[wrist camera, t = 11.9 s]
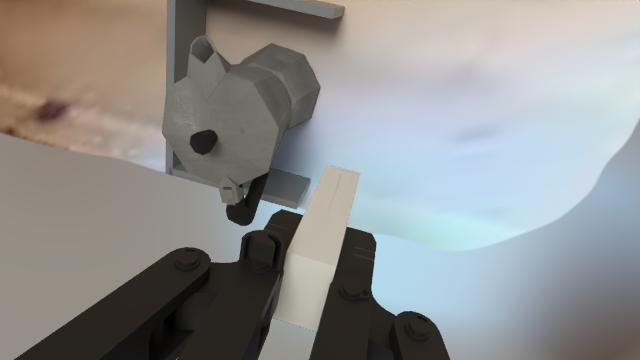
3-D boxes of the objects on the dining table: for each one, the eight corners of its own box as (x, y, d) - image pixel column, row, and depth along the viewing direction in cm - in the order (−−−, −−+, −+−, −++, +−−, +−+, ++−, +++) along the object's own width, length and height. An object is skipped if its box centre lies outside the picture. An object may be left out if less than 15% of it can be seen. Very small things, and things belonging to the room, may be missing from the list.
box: (192, 153, 48) (165, 173, 43) (200, -25, 39) (167, -28, 34) (309, 184, 46) (296, 209, 41) (344, 6, 38) (333, 8, 32)
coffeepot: (226, 26, 41) (107, 47, 25) (314, 17, 39) (247, 34, 23) (251, 164, 47) (169, 252, 31) (328, 163, 45) (283, 257, 29)
